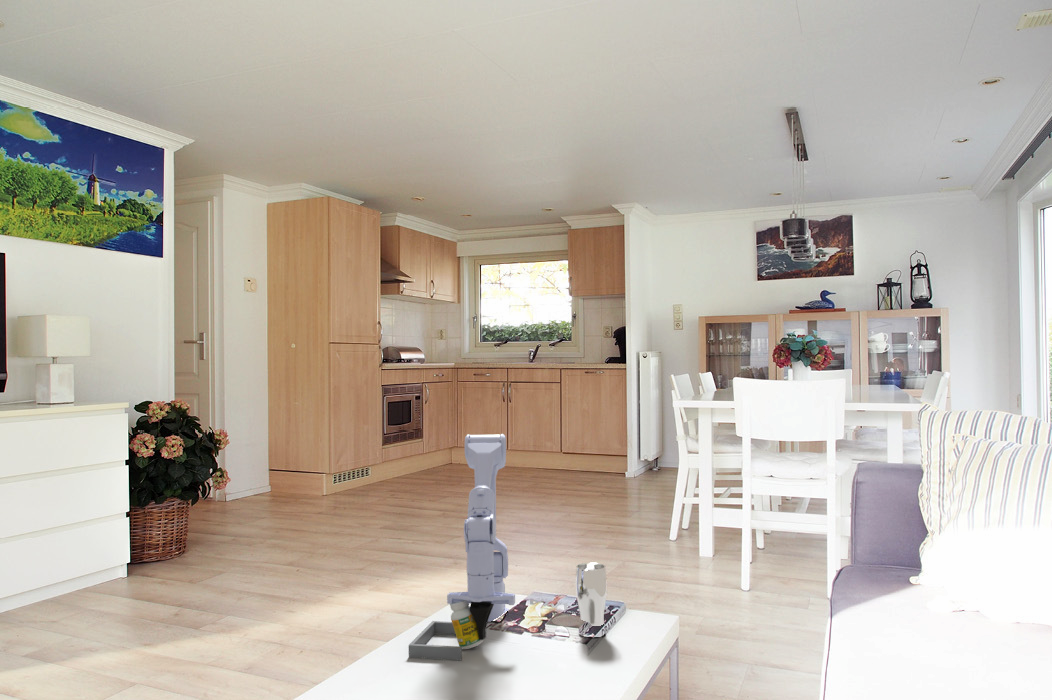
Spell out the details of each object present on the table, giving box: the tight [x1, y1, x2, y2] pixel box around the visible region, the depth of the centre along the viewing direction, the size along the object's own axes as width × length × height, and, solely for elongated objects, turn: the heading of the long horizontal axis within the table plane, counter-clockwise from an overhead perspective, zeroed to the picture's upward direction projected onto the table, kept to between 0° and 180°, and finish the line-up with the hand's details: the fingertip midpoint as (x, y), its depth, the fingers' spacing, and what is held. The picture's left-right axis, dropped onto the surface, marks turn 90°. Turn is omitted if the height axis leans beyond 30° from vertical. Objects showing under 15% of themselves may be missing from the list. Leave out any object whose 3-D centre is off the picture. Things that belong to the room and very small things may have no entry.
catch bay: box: [408, 620, 463, 661], centre depth 161 cm, size 16×11×2 cm
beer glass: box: [575, 562, 608, 626], centre depth 167 cm, size 7×7×15 cm
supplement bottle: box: [449, 600, 484, 650], centre depth 159 cm, size 5×5×10 cm
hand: (481, 638), depth 158 cm, fingers closed, pressing on supplement bottle
